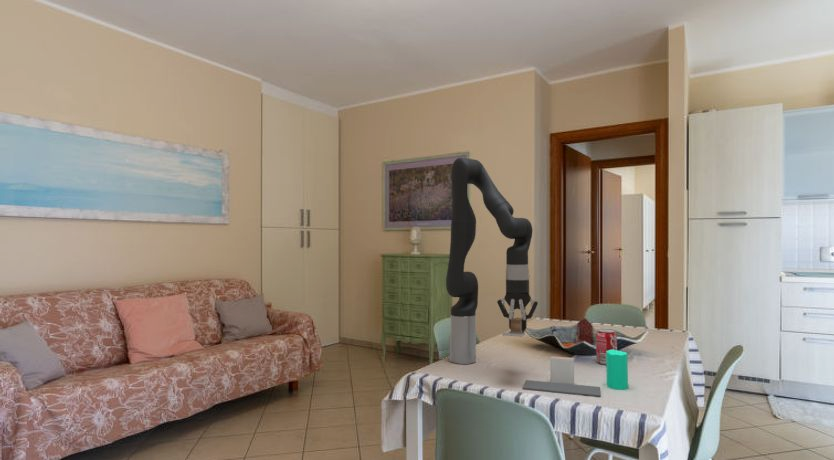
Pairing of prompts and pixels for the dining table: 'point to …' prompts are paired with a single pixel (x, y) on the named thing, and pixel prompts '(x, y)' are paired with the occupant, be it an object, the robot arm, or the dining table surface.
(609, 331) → the soda can
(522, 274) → the robot arm
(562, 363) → the tile
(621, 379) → the candle
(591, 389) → the mat
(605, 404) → the dining table surface
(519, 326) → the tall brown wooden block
